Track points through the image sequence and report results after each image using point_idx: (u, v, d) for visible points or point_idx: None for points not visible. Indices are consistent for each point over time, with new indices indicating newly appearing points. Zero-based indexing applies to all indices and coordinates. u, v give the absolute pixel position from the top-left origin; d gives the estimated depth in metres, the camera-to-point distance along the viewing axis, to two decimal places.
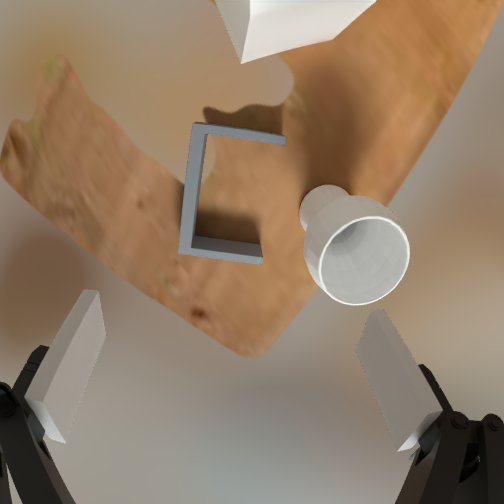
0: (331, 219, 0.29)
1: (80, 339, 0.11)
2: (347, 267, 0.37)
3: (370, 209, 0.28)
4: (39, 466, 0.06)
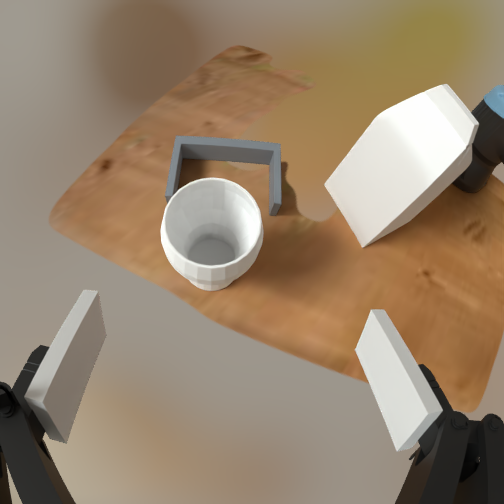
0: None
1: (80, 339, 0.11)
2: None
3: None
4: (39, 466, 0.06)
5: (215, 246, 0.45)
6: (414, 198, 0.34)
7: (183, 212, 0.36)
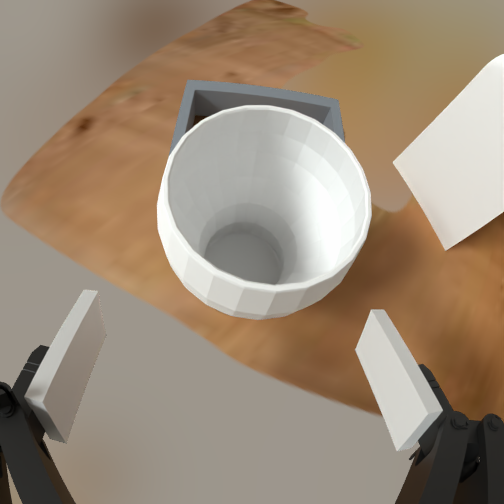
0: None
1: (80, 339, 0.11)
2: None
3: None
4: (39, 466, 0.06)
5: (246, 244, 0.28)
6: None
7: (200, 179, 0.19)
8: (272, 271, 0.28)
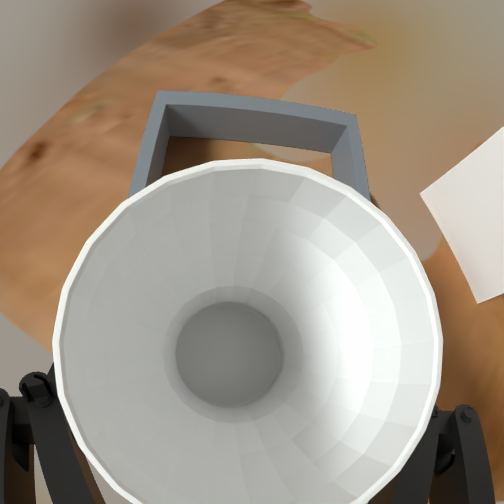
0: None
1: None
2: (141, 381, 0.12)
3: None
4: (72, 458, 0.06)
5: (234, 319, 0.21)
6: None
7: (153, 268, 0.12)
8: (269, 355, 0.21)
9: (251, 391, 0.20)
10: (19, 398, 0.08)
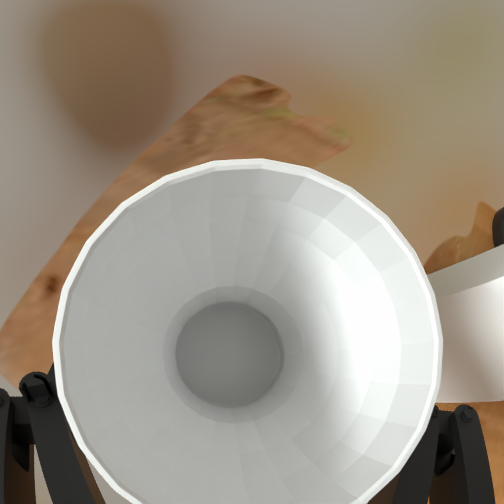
0: None
1: None
2: (141, 381, 0.12)
3: None
4: (72, 458, 0.06)
5: (234, 319, 0.21)
6: (499, 399, 0.18)
7: (153, 268, 0.12)
8: (269, 355, 0.21)
9: (251, 391, 0.20)
10: (19, 398, 0.08)
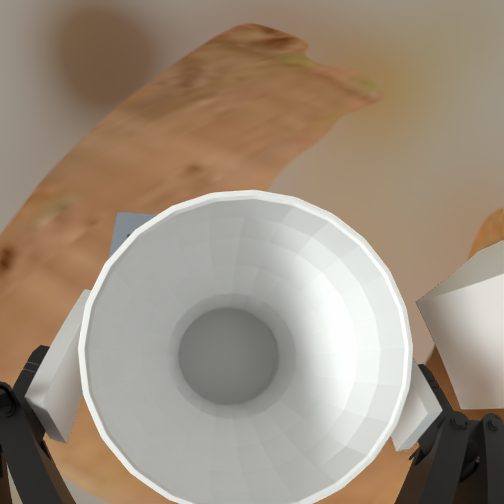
0: None
1: None
2: (149, 380, 0.13)
3: None
4: (39, 466, 0.06)
5: (233, 323, 0.22)
6: None
7: (160, 279, 0.14)
8: (266, 356, 0.22)
9: (249, 390, 0.21)
10: None
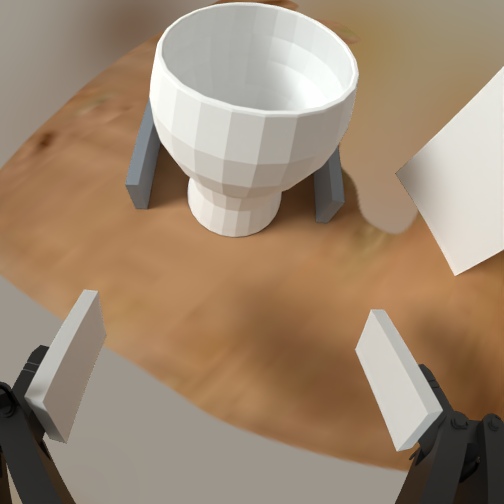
0: None
1: (80, 339, 0.11)
2: None
3: None
4: (39, 466, 0.06)
5: None
6: None
7: (194, 80, 0.18)
8: None
9: None
10: None
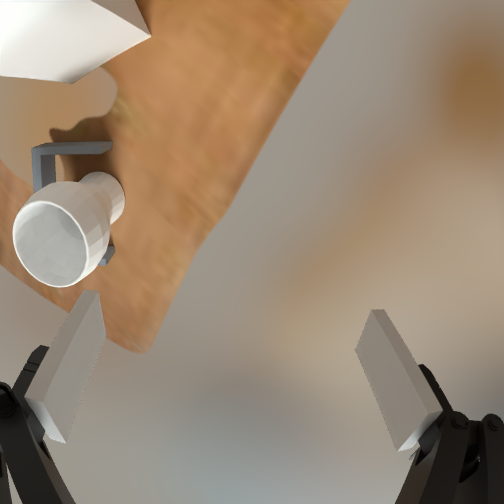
0: None
1: (80, 339, 0.11)
2: None
3: (41, 194, 0.25)
4: (39, 466, 0.06)
5: None
6: (97, 6, 0.17)
7: (52, 251, 0.33)
8: None
9: None
10: None
